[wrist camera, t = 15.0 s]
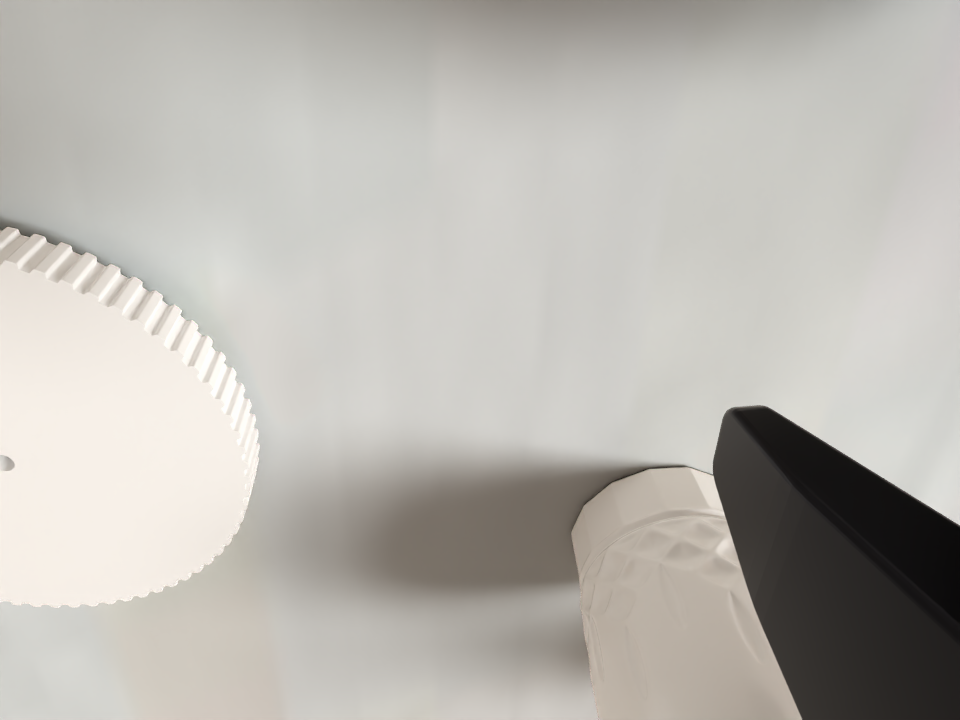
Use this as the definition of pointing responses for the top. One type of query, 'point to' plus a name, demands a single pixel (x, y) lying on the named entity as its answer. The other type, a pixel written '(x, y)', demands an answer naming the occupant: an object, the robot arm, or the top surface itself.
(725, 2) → the top surface
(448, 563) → the top surface
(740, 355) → the top surface
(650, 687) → the white cup
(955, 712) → the robot arm
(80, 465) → the white gear
